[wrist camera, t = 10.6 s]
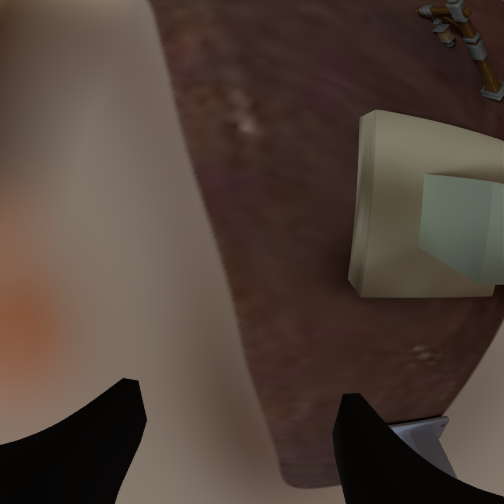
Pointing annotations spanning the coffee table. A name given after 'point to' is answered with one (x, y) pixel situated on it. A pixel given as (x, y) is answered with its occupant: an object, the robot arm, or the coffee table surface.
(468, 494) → the robot arm
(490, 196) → the sage block
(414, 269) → the beige flat square block
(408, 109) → the coffee table surface
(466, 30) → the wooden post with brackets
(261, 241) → the coffee table surface
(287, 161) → the coffee table surface
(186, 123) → the coffee table surface
